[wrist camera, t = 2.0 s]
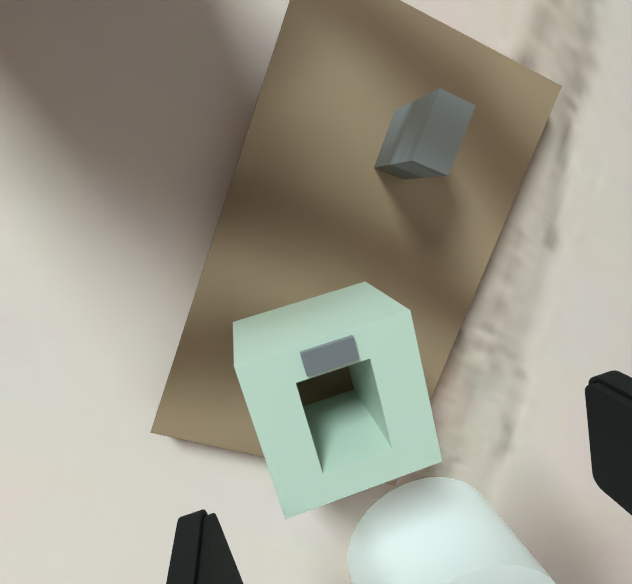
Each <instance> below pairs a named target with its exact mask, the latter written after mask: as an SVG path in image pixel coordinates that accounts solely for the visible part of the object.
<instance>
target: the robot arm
mask: <svg viewBox="0 0 632 584" xmlns="http://www.w3.org/2000/svg"><path fill="white" fill-rule="evenodd" d="M585 397H586V408H587V419H588V430H589V441H590V452H591V463H592V473H593V477H594V480H595V482H596V483H597V485H598V486H599V487H600V489H602V490H603V491H604V492H605V493H606V494H607V495H608V496H610V497H611V498H612V499H613V500H614V501H615V502H617V503H618V504H619V505H620V506H621V507H623V508H624V509H625V510H626V511H627V512H629V513H630V514H631V515H632V378H631V377H629V376H627V375H625V374H623V373H621V372H619V371H609V372H606V373H604V374H601V375H598V376H595V377H592V378H591V379H590V380H589V385H588V386H586V388H585ZM166 584H243V582H242V579H241V576H240V574H239V571H238V569H237V566H236V564H235V561H234V559H233V556H232V554H231V551H230V549H229V546H228V543H227V541H226V538H225V536H224V533H223V531H222V528H221V526H220V523H219V521H218V518H217V516H216V514H215V513H212V514H209V515H208V514H207V512H206V511H205V510H204V509H203V510H200V511H197V512H194V513H191V514H188V515H185V516H182V517H180V518H179V519H178V522H177V527H176V532H175V538H174V543H173V549H172V555H171V560H170V566H169V571H168V577H167V582H166Z"/></svg>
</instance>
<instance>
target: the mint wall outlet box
mask: <svg viewBox="0 0 632 584" xmlns="http://www.w3.org/2000/svg"><path fill="white" fill-rule="evenodd" d="M233 348H234V368H235V371H236V374H237V377H238V380H239V383H240V386H241V389H242V392H243V395H244V398H245V401H246V404H247V407H248V410H249V413H250V416H251V419H252V422H253V425H254V428H255V430H256V433H257V436H258V439H259V442H260V445H261V448H262V451H263V454H264V457H265V460H266V463H267V466H268V469H269V472H270V475H271V478H272V481H273V484H274V487H275V490H276V493H277V496H278V499H279V502H280V505H281V508H282V511H283V514H284V517H285V519H287V518H290V517H293V516H296V515H298V514H301V513H304V512H306V511H309V510H312V509H315V508H317V507H320V506H323V505H325V504H328V503H331V502H334V501H336V500H339V499H342V498H344V497H347V496H350V495H353V494H355V493H358V492H361V491H363V490H366V489H369V488H372V487H374V486H377V485H380V484H382V483H385V482H388V481H391V480H393V479H396V478H399V477H401V476H404V475H407V474H410V473H412V472H415V471H418V470H420V469H423V468H426V467H429V466H431V465H434V464H437V463H439V462H442V457H441V453H440V448H439V443H438V438H437V434H436V429H435V424H434V420H433V415H432V410H431V405H430V401H429V396H428V391H427V387H426V382H425V377H424V372H423V368H422V363H421V358H420V354H419V349H418V344H417V340H416V335H415V330H414V325H413V321H412V316H411V311H410V310H409V309H408V308H406V307H404V306H403V305H401V304H400V303H398V302H397V301H395V300H394V299H392V298H390V297H389V296H387V295H386V294H384V293H383V292H381V291H380V290H378V289H376V288H375V287H373V286H372V285H370V284H369V283H367V282H366V281H365V282H362V283H359V284H355V285H352V286H349V287H346V288H342V289H339V290H336V291H333V292H329V293H326V294H323V295H319V296H316V297H313V298H310V299H306V300H303V301H300V302H297V303H293V304H290V305H287V306H284V307H280V308H277V309H274V310H270V311H267V312H264V313H261V314H257V315H254V316H251V317H248V318H244V319H241V320H238V321H235V322H233ZM346 366H348V368H349V371H350V375H351V379H352V383H353V387H354V389H353V390H350V391H347V392H344V393H341V394H338V395H335V396H333V397H330V398H327V399H324V400H321V401H318V402H315V403H312V404H309V405H306V406H302V402H301V399H300V396H299V392H298V389H297V386H296V383H297V382H300V381H303V380H306V379H309V378H312V377H316V376H319V375H322V374H325V373H328V372H331V371H334V370H337V369H340V368H343V367H346Z"/></svg>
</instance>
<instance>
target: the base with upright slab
mask: <svg viewBox="0 0 632 584" xmlns="http://www.w3.org/2000/svg"><path fill="white" fill-rule="evenodd" d="M347 565H348V571H349V577H350V581H351V584H556V583H555V582H554V581H553V579H552V578H551V577H550V576H549V575H548V573H547V572H546V571H545V570H544V569H543V568H542V566H541V565H540V564H539V563H538V562H537V560H536V559H535V558H534V557H533V556H532V554H531V553H530V552H529V551H528V550H527V548H526V547H525V546H524V545H523V544H522V542H521V541H520V540H519V539H518V538H517V537H516V535H515V534H514V533H513V532H512V531H511V529H510V528H509V527H508V526H507V525H506V523H505V522H504V521H503V520H502V519H501V517H500V516H499V515H498V514H497V513H496V511H495V510H494V509H493V508H492V507H491V506H490V504H489V503H488V502H487V501H486V500H485V498H484V497H483V496H482V495H481V494H480V492H479V491H478V490H476V489H475V488H473V487H471V486H470V485H468V484H467V483H465V482H463V481H459V480H455V479H451V478H448V477H426V478H422V479H419V480H415V481H411V482H407V483H405V484H403V485H401V486H399V487H397V488H395V489H393V490H391V491H389V492H388V493H386V494H385V495H384V496H383V497H381V498H380V499H379V500H378V501H377V502H375V503H374V504H373V505H372V506H371V507H370V508H369V509H368V511H367V512H366V513H365V514H364V516H363V517H362V518H361V520H360V521H359V522H358V524H357V526H356V528H355V530H354V533H353V535H352V537H351V539H350V542H349V549H348V555H347Z"/></svg>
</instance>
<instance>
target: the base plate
mask: <svg viewBox="0 0 632 584" xmlns="http://www.w3.org/2000/svg"><path fill="white" fill-rule="evenodd" d="M561 87H562V86H561V85H559V84H557V83H555V82H553V81H551V80H549V79H547V78H546V77H544V76H542V75H540V74H538V73H536V72H534V71H532V70H531V69H529V68H527V67H525V66H523V65H521V64H519V63H517V62H515V61H514V60H512V59H510V58H508V57H506V56H504V55H502V54H500V53H498V52H497V51H495V50H493V49H491V48H489V47H487V46H485V45H483V44H481V43H480V42H478V41H476V40H474V39H472V38H470V37H468V36H466V35H464V34H463V33H461V32H459V31H457V30H455V29H453V28H451V27H449V26H447V25H446V24H444V23H442V22H440V21H438V20H436V19H434V18H432V17H430V16H429V15H427V14H425V13H423V12H421V11H419V10H417V9H415V8H413V7H412V6H410V5H408V4H406V3H404V2H402V1H400V0H290V2H289V5H288V8H287V11H286V14H285V17H284V20H283V23H282V26H281V30H280V33H279V36H278V39H277V42H276V45H275V48H274V51H273V54H272V57H271V61H270V64H269V67H268V70H267V73H266V76H265V79H264V82H263V85H262V88H261V92H260V95H259V98H258V101H257V104H256V107H255V110H254V113H253V116H252V119H251V123H250V126H249V129H248V132H247V135H246V138H245V141H244V144H243V147H242V150H241V154H240V157H239V160H238V163H237V166H236V169H235V172H234V175H233V178H232V181H231V184H230V188H229V191H228V194H227V197H226V200H225V203H224V206H223V209H222V212H221V215H220V219H219V222H218V225H217V228H216V231H215V234H214V237H213V240H212V243H211V246H210V250H209V253H208V256H207V259H206V262H205V265H204V268H203V271H202V274H201V277H200V281H199V284H198V287H197V290H196V293H195V296H194V299H193V302H192V305H191V308H190V312H189V315H188V318H187V321H186V324H185V327H184V330H183V333H182V336H181V339H180V342H179V346H178V349H177V352H176V355H175V358H174V361H173V364H172V367H171V370H170V373H169V377H168V380H167V383H166V386H165V389H164V392H163V395H162V398H161V401H160V404H159V408H158V411H157V414H156V417H155V420H154V423H153V426H152V429H151V432H150V433H155V434H159V435H164V436H169V437H173V438H178V439H183V440H187V441H192V442H196V443H201V444H206V445H210V446H215V447H220V448H224V449H229V450H234V451H238V452H243V453H248V454H252V455H257V456H261V457H264V454H263V451H262V448H261V445H260V442H259V439H258V436H257V433H256V430H255V428H254V425H253V422H252V419H251V416H250V413H249V410H248V407H247V404H246V401H245V398H244V395H243V392H242V389H241V386H240V383H239V380H238V377H237V374H236V371H235V368H234V348H233V322H235V321H238V320H241V319H244V318H248V317H251V316H254V315H257V314H261V313H264V312H267V311H270V310H274V309H277V308H280V307H284V306H287V305H290V304H293V303H297V302H300V301H303V300H306V299H310V298H313V297H316V296H319V295H323V294H326V293H329V292H333V291H336V290H339V289H342V288H346V287H349V286H352V285H355V284H359V283H362V282H365V281H366V282H367V283H369V284H370V285H372V286H373V287H375V288H376V289H378V290H380V291H381V292H383V293H384V294H386V295H387V296H389V297H390V298H392V299H394V300H395V301H397V302H398V303H400V304H401V305H403V306H404V307H406V308H408V309H409V310H410V311H411V316H412V321H413V325H414V330H415V335H416V340H417V344H418V349H419V354H420V358H421V363H422V368H423V372H424V377H425V382H426V387H427V391H428V396H429V401H430V399H431V397H432V394H433V392H434V390H435V387H436V385H437V382H438V380H439V378H440V375H441V373H442V371H443V368H444V366H445V363H446V361H447V359H448V356H449V354H450V351H451V349H452V347H453V344H454V342H455V340H456V337H457V335H458V332H459V330H460V328H461V325H462V323H463V320H464V318H465V316H466V313H467V311H468V309H469V306H470V304H471V301H472V299H473V297H474V294H475V292H476V289H477V287H478V285H479V282H480V280H481V277H482V275H483V273H484V270H485V268H486V266H487V263H488V261H489V258H490V256H491V254H492V251H493V249H494V246H495V244H496V242H497V239H498V237H499V235H500V232H501V230H502V227H503V225H504V223H505V220H506V218H507V215H508V213H509V211H510V208H511V206H512V204H513V201H514V199H515V196H516V194H517V192H518V189H519V187H520V184H521V182H522V180H523V177H524V175H525V172H526V170H527V168H528V165H529V163H530V161H531V158H532V156H533V153H534V151H535V149H536V146H537V144H538V141H539V139H540V137H541V134H542V132H543V130H544V127H545V125H546V122H547V120H548V118H549V115H550V113H551V110H552V108H553V106H554V103H555V101H556V99H557V96H558V94H559V91H560V89H561ZM296 386H297V389H298V392H299V396H300V399H301V402H302V406H306V405H309V404H312V403H315V402H318V401H321V400H324V399H327V398H330V397H333V396H335V395H338V394H341V393H344V392H347V391H350V390H353V389H354V387H353V383H352V379H351V375H350V371H349V368H348V366H346V367H343V368H340V369H337V370H334V371H331V372H328V373H325V374H322V375H319V376H316V377H312V378H309V379H306V380H303V381H300V382H297V383H296ZM396 480H397V478H396V479H393V480H391V481H388V482H385V483H387V484H391V485H395V483H396Z"/></svg>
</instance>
